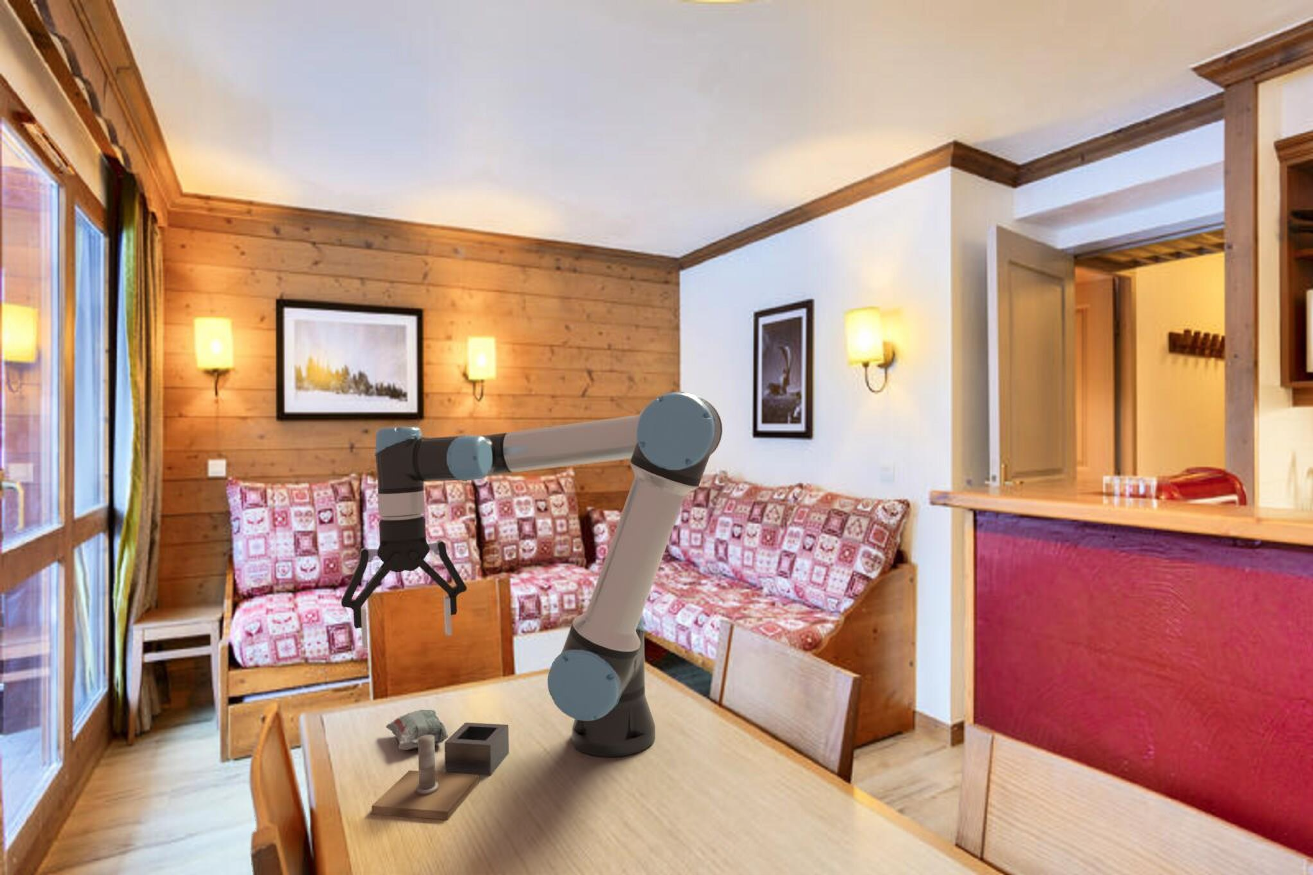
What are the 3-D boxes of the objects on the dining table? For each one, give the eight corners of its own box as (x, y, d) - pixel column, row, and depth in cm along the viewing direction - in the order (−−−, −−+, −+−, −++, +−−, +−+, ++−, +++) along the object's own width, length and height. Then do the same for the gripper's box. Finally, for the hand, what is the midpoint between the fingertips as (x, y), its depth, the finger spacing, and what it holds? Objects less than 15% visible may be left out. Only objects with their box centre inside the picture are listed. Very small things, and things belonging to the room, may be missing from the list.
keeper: (478, 782, 114) (477, 725, 113) (447, 819, 103) (446, 756, 103) (409, 777, 115) (408, 721, 115) (371, 813, 105) (370, 751, 105)
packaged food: (398, 760, 122) (398, 732, 122) (385, 736, 132) (385, 709, 132) (449, 749, 126) (449, 721, 126) (433, 726, 136) (433, 700, 136)
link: (508, 753, 124) (508, 724, 124) (490, 775, 116) (490, 744, 116) (465, 750, 125) (465, 722, 125) (445, 772, 117) (444, 742, 117)
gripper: (472, 509, 130) (477, 624, 130) (322, 521, 120) (328, 646, 120) (479, 512, 123) (485, 633, 123) (321, 525, 113) (327, 658, 113)
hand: (407, 640), depth 122 cm, fingers open, 13 cm apart
